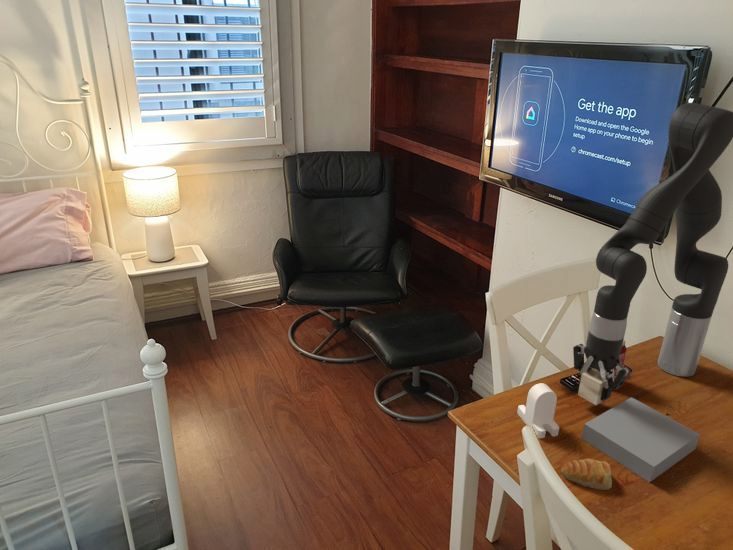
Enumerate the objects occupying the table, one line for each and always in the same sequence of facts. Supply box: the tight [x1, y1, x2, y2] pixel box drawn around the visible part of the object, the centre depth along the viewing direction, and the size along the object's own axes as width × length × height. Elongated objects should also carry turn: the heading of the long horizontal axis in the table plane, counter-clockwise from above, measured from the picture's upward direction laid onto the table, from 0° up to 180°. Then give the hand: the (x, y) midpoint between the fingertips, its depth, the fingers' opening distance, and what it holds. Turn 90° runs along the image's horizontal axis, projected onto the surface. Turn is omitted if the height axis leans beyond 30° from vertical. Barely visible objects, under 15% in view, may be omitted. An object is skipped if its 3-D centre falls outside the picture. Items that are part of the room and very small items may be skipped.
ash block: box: [577, 369, 606, 406], centre depth 134 cm, size 5×5×6 cm
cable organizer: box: [517, 382, 560, 439], centre depth 128 cm, size 5×10×10 cm, turn 14°
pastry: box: [560, 457, 613, 491], centre depth 114 cm, size 9×7×4 cm
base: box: [581, 397, 701, 483], centre depth 123 cm, size 18×16×4 cm
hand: (593, 393), depth 135 cm, fingers closed on ash block, 5 cm apart
